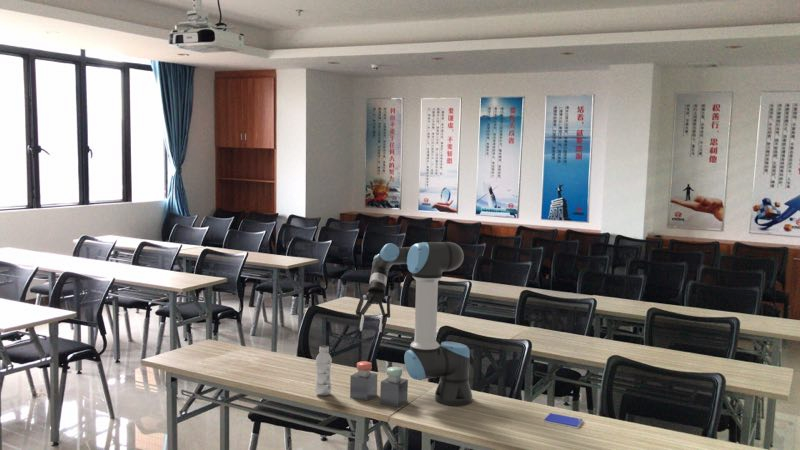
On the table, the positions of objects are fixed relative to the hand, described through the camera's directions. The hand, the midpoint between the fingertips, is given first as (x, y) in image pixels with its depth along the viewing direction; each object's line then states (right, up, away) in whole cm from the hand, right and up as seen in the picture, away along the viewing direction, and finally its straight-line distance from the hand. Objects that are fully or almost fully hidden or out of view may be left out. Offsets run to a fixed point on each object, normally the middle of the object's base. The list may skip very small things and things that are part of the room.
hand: (370, 329), depth 291 cm
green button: (+10, -23, -17) cm, 30 cm away
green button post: (+10, -26, -17) cm, 33 cm away
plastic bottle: (-19, -25, -9) cm, 33 cm away
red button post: (-2, -26, -10) cm, 28 cm away
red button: (-2, -22, -11) cm, 24 cm away
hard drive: (+74, -30, -32) cm, 86 cm away
